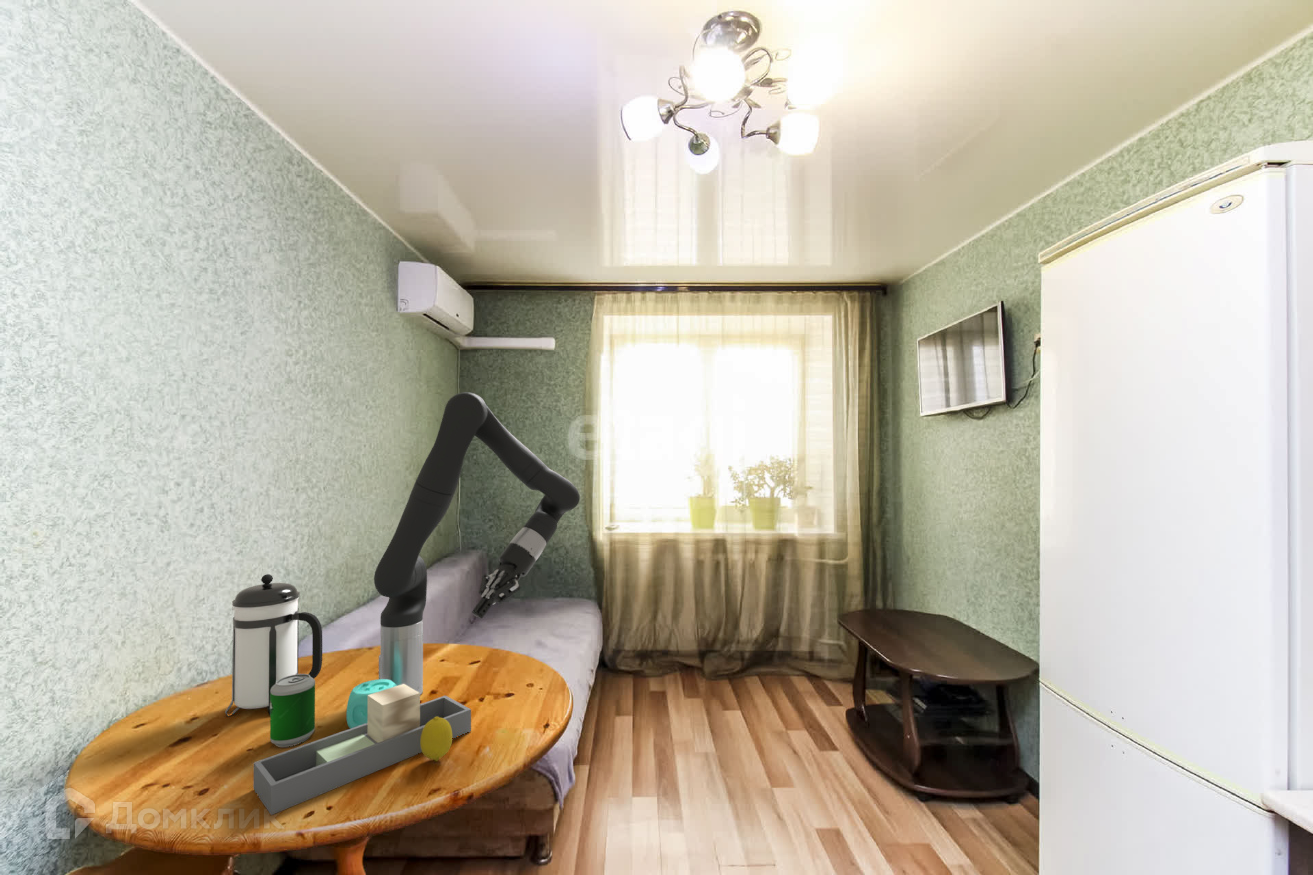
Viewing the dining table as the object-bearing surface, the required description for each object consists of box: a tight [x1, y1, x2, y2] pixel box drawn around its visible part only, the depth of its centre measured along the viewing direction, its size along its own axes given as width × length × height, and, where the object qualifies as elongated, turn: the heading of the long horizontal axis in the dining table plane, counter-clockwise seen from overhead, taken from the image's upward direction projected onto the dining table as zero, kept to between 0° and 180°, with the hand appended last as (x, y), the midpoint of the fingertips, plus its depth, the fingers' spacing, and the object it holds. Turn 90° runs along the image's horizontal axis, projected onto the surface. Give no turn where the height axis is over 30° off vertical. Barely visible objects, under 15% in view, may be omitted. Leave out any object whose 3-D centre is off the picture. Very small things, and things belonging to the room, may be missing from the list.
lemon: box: [420, 716, 453, 762], centre depth 103 cm, size 6×6×8 cm
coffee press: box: [224, 573, 323, 717], centre depth 128 cm, size 17×16×30 cm
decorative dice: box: [345, 678, 397, 729], centre depth 118 cm, size 8×8×8 cm
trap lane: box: [252, 695, 472, 816], centre depth 104 cm, size 35×11×4 cm, turn 138°
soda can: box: [269, 673, 316, 748], centre depth 112 cm, size 8×8×12 cm
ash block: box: [367, 684, 421, 743], centre depth 107 cm, size 7×7×8 cm
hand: (476, 615), depth 121 cm, fingers closed
